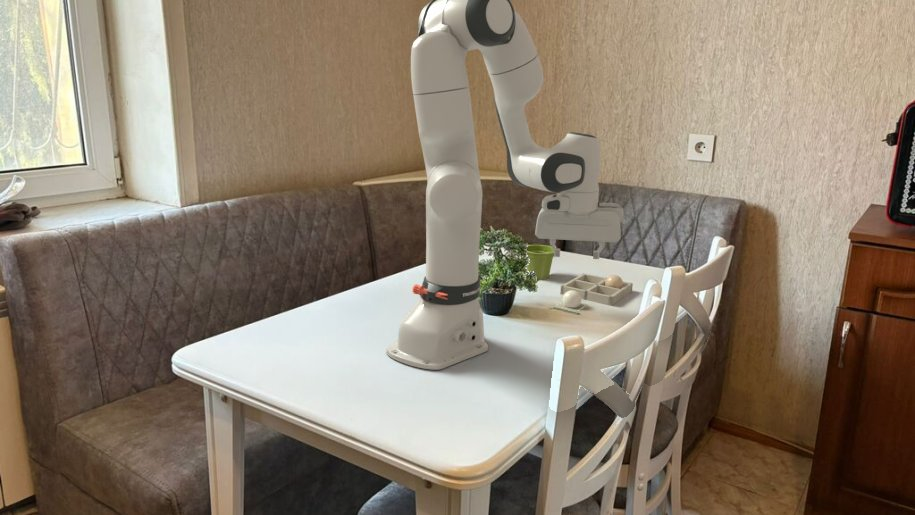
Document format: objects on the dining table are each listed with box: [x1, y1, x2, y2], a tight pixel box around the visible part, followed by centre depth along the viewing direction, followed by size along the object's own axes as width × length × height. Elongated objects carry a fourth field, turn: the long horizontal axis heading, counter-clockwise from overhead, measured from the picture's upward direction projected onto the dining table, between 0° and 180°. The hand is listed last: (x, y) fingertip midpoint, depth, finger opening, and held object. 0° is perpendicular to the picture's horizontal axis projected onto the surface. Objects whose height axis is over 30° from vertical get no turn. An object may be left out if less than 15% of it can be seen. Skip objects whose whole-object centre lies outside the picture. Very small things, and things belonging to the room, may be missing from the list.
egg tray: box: [560, 273, 633, 307], centre depth 179 cm, size 14×14×3 cm
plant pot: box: [526, 244, 555, 282], centre depth 191 cm, size 9×9×9 cm
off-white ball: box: [561, 290, 582, 309], centre depth 169 cm, size 5×5×5 cm
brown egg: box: [605, 274, 624, 289], centre depth 180 cm, size 5×5×5 cm
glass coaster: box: [553, 300, 589, 316], centre depth 170 cm, size 6×6×1 cm
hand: (576, 257), depth 167 cm, fingers open, 8 cm apart
